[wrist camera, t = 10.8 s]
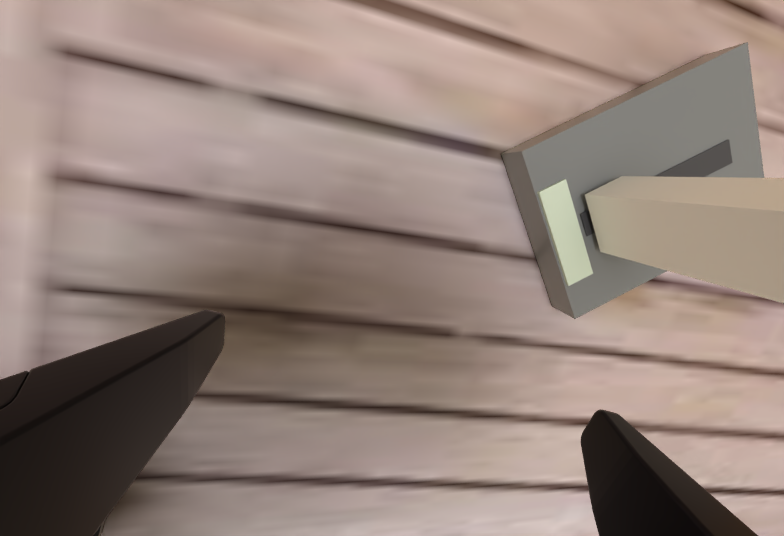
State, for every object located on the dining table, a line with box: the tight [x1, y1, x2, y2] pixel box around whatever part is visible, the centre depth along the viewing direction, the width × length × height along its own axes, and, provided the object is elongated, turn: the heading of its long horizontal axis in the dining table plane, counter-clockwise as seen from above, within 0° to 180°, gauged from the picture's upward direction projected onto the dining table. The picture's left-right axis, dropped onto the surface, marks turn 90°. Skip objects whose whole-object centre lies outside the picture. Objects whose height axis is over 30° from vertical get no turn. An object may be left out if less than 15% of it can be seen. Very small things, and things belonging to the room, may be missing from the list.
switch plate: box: [501, 42, 764, 319], centre depth 19 cm, size 12×9×2 cm
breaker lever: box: [585, 176, 784, 303], centre depth 13 cm, size 2×4×11 cm, turn 24°
